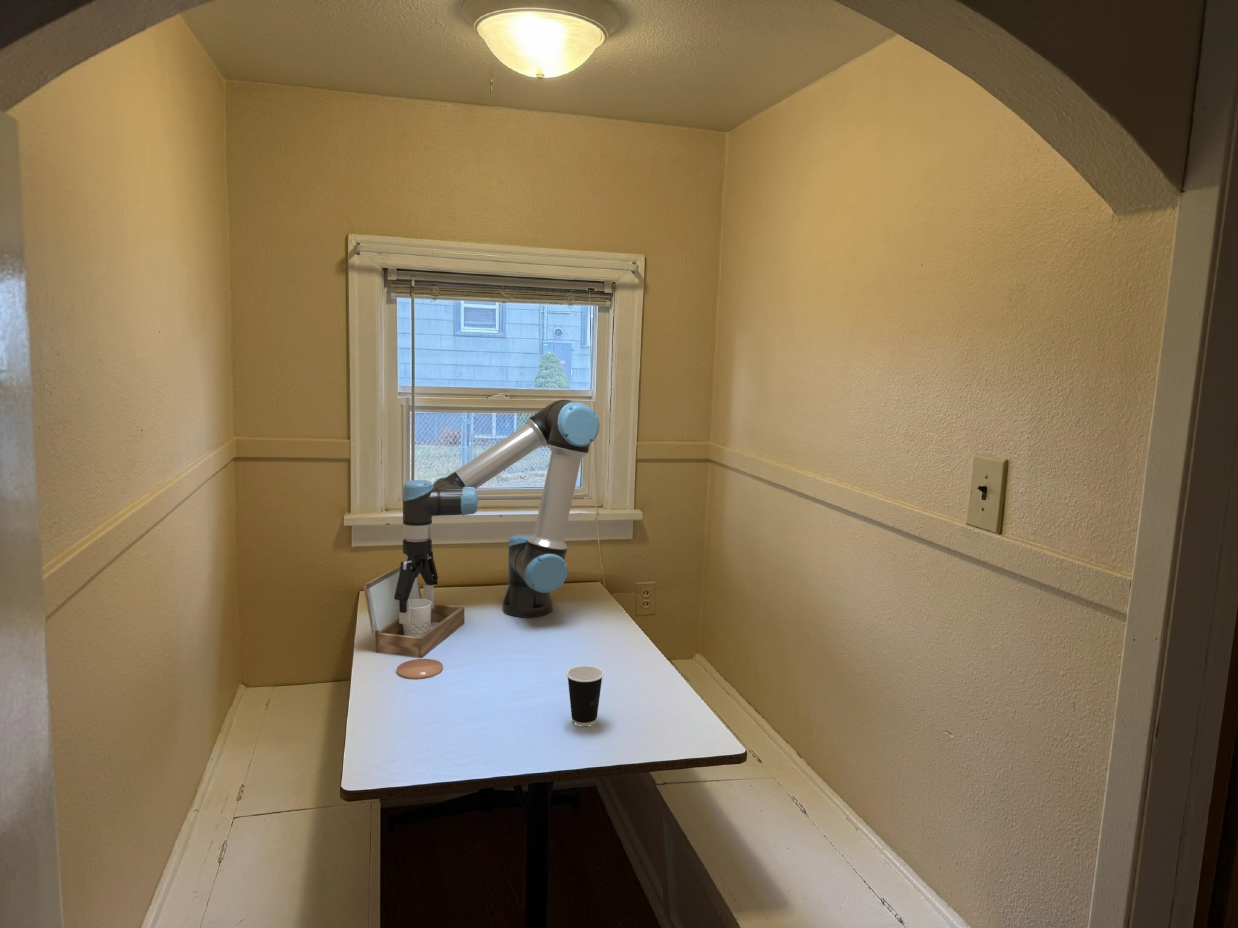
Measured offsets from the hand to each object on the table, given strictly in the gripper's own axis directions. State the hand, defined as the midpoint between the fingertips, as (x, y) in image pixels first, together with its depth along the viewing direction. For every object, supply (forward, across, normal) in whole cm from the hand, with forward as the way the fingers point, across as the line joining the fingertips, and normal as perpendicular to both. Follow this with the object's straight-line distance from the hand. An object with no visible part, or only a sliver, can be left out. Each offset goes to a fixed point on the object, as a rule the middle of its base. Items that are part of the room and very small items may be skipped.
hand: (417, 615), depth 214 cm
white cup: (+7, 0, 0) cm, 7 cm away
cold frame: (+6, -1, +1) cm, 7 cm away
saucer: (+7, +19, +10) cm, 22 cm away
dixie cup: (+6, +34, +56) cm, 66 cm away
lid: (-5, -1, -7) cm, 8 cm away
